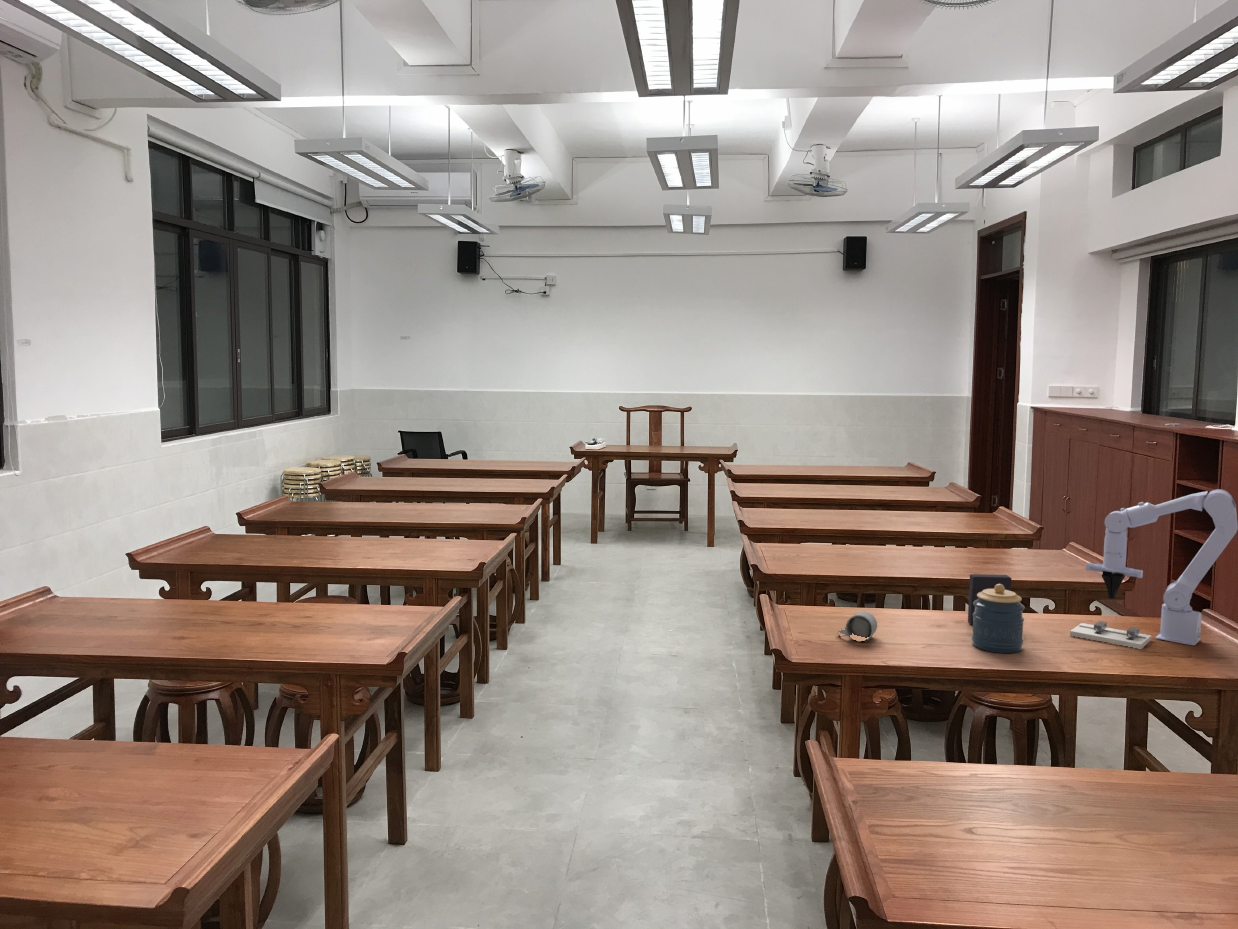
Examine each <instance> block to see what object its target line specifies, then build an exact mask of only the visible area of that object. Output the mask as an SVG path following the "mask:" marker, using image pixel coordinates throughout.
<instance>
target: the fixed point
mask: <svg viewBox="0 0 1238 929" xmlns="http://www.w3.org/2000/svg"><path fill="white" fill-rule="evenodd" d="M1126 631H1127V634H1126V636H1127V637H1129V638H1131V637H1133V638H1135V637H1136V636H1137V635H1138V634H1139V633H1140V628H1138V627H1134V626H1133V627H1132V626H1131V627H1130V628H1129V629H1127V630H1126Z"/></svg>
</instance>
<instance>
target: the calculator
mask: <svg viewBox="0 0 1238 929" xmlns="http://www.w3.org/2000/svg"><path fill="white" fill-rule="evenodd" d="M968 584H969V589H968V609H967V611H968V612H967V623H968V624H970V625H971V626H973V613H974V612H975V606H974V604H973V602H974V601H975V600H977V599H978V598H979V597H977V594H978V593H979V592H982V591H983V590H985V589H994V587H995V585H997V584H1002V585H1003V586H1004V588H1005V590H1009V591H1011V590H1012V577H1010V576H1009V575H1008V574H989V573H988V574H987V573H986V574H985V573H984V574H983V573H982V574H980V573H977V574H976V573H971V574H969V582H968Z"/></svg>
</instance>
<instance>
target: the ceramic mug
mask: <svg viewBox="0 0 1238 929" xmlns="http://www.w3.org/2000/svg"><path fill="white" fill-rule="evenodd" d="M843 628H845V630H841V631H838V630H837V631H838V632H840V633H842V634H845V635H844V636H848V637H849V636H850V635H852V633H853V634H854V635H857V636H861V637H865V638H867V637H869V638H868V639H866V640H867V641H869V640H870V639H871V638H872V636H873V635H874V634H876V632H877V629H878V621H877V619H876V617H875V615H873V614H872V613H871V612H867V611H858V612H856V613H855V614H854V615H852V616H851V617H849V618H848V620H847V621H846V622H845V626H844V627H843ZM838 632H837V633H838Z"/></svg>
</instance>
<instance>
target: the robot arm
mask: <svg viewBox="0 0 1238 929" xmlns="http://www.w3.org/2000/svg"><path fill="white" fill-rule="evenodd" d="M1189 509H1192V510H1194V511H1200V512H1203V509H1204V510H1205V511H1206V513H1208V515H1209V516H1210V517H1211V518H1212V521H1213V524H1214V527H1215V528H1214V530H1213V531H1212V532H1211V533H1210V535H1209V537H1208V538H1207V539H1206V541H1205V542H1204V543H1203V545H1202V546H1201V548H1200V549H1199V550H1198V552H1197V553H1196V554H1195V556H1194V557H1193V558H1192V560H1191V561H1190V563H1189V564H1188V565H1187V567H1186V568H1185V570H1184V571H1183V572H1182V574H1181V575H1180V576H1179V577H1178V579H1176V581H1174V582H1172V583H1169V585H1167V587H1166V589H1165V592H1164V593H1163V596H1162V597H1163V598H1162V600H1163V602H1164V603H1163V604H1161V614H1160V628H1159V629H1160V630H1159V631H1160V632H1159V633H1158V634H1157V635H1156V636H1155V639H1156V640H1160V641H1161V640H1163V641H1167V642H1173V643H1177V644H1184V645H1189V646H1196V645H1197V643H1199V641H1201V630H1202V629H1201V628H1202V613H1201V612H1200V611H1197V610H1193V606H1191V605H1190V602H1191V599H1192V597H1193V593H1194V592H1195V590H1196V589H1197V587H1198V585H1199V584H1200V583H1201V581H1202V580H1203V578H1204V577H1205V575H1206V574H1207V573H1208V571H1209V570H1210V568H1212V566H1213V565H1214V563H1215V562H1216V561H1217V559H1218V558H1219V557H1220V555H1221V554H1222V552H1223V551H1224V550H1225V549H1226V548H1227V546H1228V545H1229V543H1230V541H1231V540H1232V539H1233V538H1234V537H1235V535H1236V534H1237V532H1238V515H1237V514H1238V513H1237V505H1236V502H1235V500H1234V499H1233V496H1232V494H1231V493H1230V492H1228V491H1227V490H1226V489H1220V488H1217V489H1213V490H1211V491H1209V492H1208V491H1207V490H1206V491H1201V492H1196V493H1191V494H1188V495H1184V496H1181V497H1178V498H1174V499H1172V500H1168V501H1165V502H1162V503H1158V504H1152V503H1150V502H1144V501H1141V502H1138V503H1137V505H1134V506H1131V507H1127V508H1125V507H1122V508H1120V509H1119V510H1114V511H1112V512H1110V513H1108V515H1107V516H1106V517H1105V518H1104V526H1105V531H1104V532H1105V536H1104V541H1103V543H1104V545H1103V558H1102V559H1103V561H1102V563H1092V562H1091V563H1090V562H1088V563H1085V571H1090V572H1091V571H1093V572H1099V573H1102V574H1101V578H1102V580H1103V582H1104V584H1105V586H1106V591H1107V595H1108V596H1107V597H1108V599H1110V600H1111V599H1112V600H1113V599H1116V598H1117V597H1116V596H1117V594H1118V590H1119V588H1120V586H1121V584H1122V583H1123V581H1124V579H1125V578H1126V577H1134V578H1137V579H1142V578H1143V576H1144V570H1142V569H1135V568H1131V567H1126V565H1127V564H1126V562H1127V547H1128V537H1127V534H1128V532H1127V531H1128V529H1127V528H1138V527H1140V526H1141V527H1142V526H1144V525H1149V524H1152V523H1156V522H1157V521H1158V519H1159V517H1161V516H1164V515H1169V514H1173V513H1177V512H1182V511H1185V510H1189Z"/></svg>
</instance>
